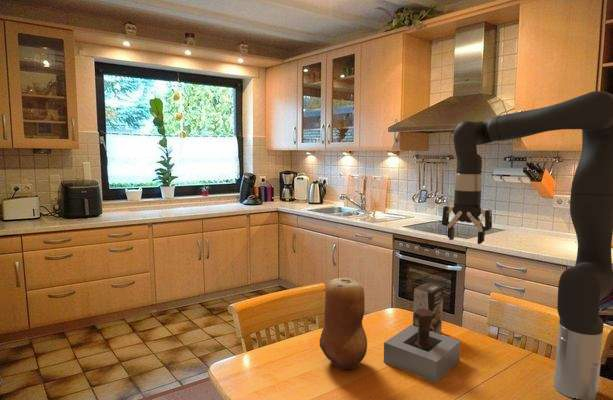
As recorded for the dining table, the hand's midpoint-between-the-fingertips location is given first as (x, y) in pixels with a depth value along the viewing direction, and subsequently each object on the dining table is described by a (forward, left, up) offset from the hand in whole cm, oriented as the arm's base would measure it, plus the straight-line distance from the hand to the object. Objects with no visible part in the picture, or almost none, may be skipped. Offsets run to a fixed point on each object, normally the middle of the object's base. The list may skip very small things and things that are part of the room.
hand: (465, 241), depth 126 cm
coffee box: (+11, -1, -34) cm, 36 cm away
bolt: (+4, +17, -34) cm, 38 cm away
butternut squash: (+20, +34, -34) cm, 52 cm away
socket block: (+4, +17, -34) cm, 38 cm away
